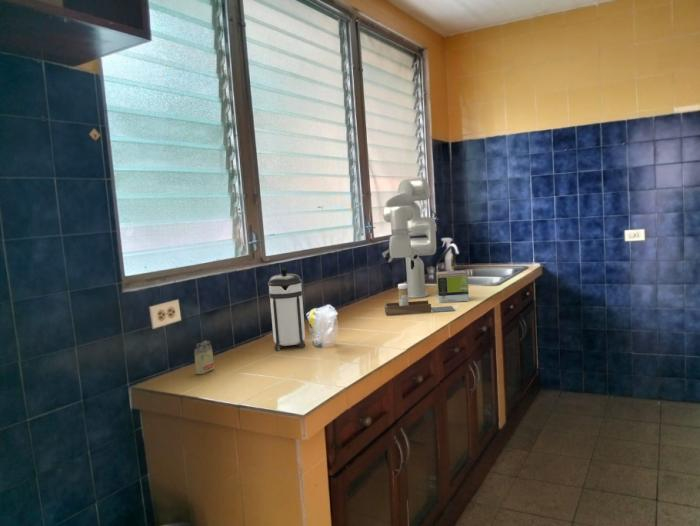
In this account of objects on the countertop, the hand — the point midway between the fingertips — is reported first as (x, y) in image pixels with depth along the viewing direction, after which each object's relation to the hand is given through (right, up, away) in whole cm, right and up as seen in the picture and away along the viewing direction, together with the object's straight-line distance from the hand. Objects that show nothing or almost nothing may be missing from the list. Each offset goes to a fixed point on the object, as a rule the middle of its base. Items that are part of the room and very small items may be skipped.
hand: (401, 269), depth 256 cm
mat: (+19, -19, +2) cm, 27 cm away
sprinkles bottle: (+1, -20, +2) cm, 20 cm away
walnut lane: (+3, -20, +2) cm, 20 cm away
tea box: (+28, -16, +24) cm, 41 cm away
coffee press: (-47, -28, -45) cm, 71 cm away
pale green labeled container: (-72, -33, -73) cm, 108 cm away
